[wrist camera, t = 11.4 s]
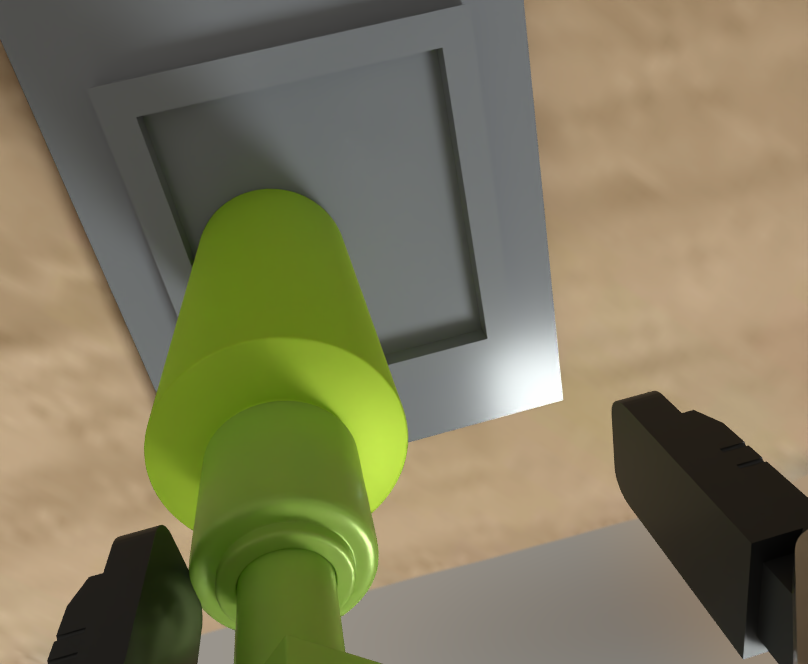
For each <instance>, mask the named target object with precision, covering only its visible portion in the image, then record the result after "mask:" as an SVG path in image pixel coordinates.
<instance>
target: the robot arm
mask: <svg viewBox="0 0 808 664" xmlns="http://www.w3.org/2000/svg"><path fill="white" fill-rule="evenodd" d="M612 429H613V446H614V464H615V473H616V478H617V481H618V484H619V487H620V490H621V492H622V494H623V496H624V498H625V500H626V502H627V503H628V505H629V506H630V507H631V509H632V510H633V511H634V513H635V514H636V515H637V517H638V518H639V519H640V521H641V522H642V523H643V525H644V526H645V528H646V529H647V530H648V532H649V533H650V534H651V535H652V537H653V538H654V539H655V541H656V542H657V544H658V545H659V546H660V548H661V549H662V550H663V552H664V553H665V555H666V556H667V557H668V559H669V560H670V561H671V562H672V564H673V565H674V567H675V568H676V569H677V571H678V572H679V573H680V575H681V576H682V577H683V579H684V580H685V582H686V583H687V584H688V586H689V587H690V588H691V590H692V591H693V592H694V594H695V595H696V596H697V598H698V599H699V600H700V602H701V603H702V604H703V606H704V607H705V608H706V610H707V611H708V613H709V614H710V615H711V617H712V618H713V619H714V621H715V622H716V623H717V625H718V626H719V627H720V629H721V630H722V631H723V633H724V634H725V635H726V637H727V638H728V639H729V641H730V642H731V644H732V645H733V646H734V648H735V649H736V650H737V652H738V653H739V654H740V656H741V657H742V658H743V659H746V658H749V657H752V656H756V655H759V654H762V653H765V652H768V651H769V652H770V654H771V655H772V656H773V657H774V659H775V660H776V661H777V662H778V664H808V497H806V496H805V495H804V494H803V493H802V492H801V491H800V490H798V489H797V488H796V487H795V486H794V485H793V484H792V483H791V482H789V481H788V480H787V479H786V478H785V477H784V476H783V475H781V474H780V473H779V472H778V471H777V470H776V469H775V468H774V467H772V466H771V465H770V464H769V463H768V462H764V461H763V459H762V457H761V456H760V455H759V454H758V453H757V452H755V451H754V450H753V449H752V448H751V447H750V446H746V445H745V442H744V441H743V440H742V439H741V438H740V437H738V436H737V435H736V434H735V433H734V432H733V431H732V430H730V429H729V428H728V427H727V426H726V425H725V424H724V423H722V422H720V421H717V420H715V419H713V418H711V417H708V416H706V415H704V414H702V413H699V412H697V411H695V410H692V411H688V412H685V413H681V412H680V411H679V410H678V409H677V408H676V407H675V406H674V405H673V404H672V403H671V402H669V401H668V400H667V399H666V398H665V397H664V396H663V395H662V394H661V393H659V392H658V391H651V392H648V393H644V394H640V395H637V396H633V397H629V398H626V399H622V400H619V401H615V402H614V403H613V405H612ZM201 630H202V606H201V602H200V600H199V598H198V596H197V594H196V592H195V590H194V588H193V586H192V583H191V580H190V577H189V570H188V568H187V566H186V564H185V562H184V560H183V558H182V556H181V554H180V552H179V549H178V547H177V545H176V543H175V541H174V539H173V537H172V535H171V533H170V531H169V530H168V529H167V528H166V527H165V526H164V525H159V526H156V527H152V528H148V529H145V530H141V531H138V532H134V533H130V534H127V535H123V536H119V537H117V538H116V539H115V540H114V542H113V544H112V547H111V551H110V554H109V557H108V560H107V563H106V566H105V569H104V573H102V574H98V575H95V576H91V577H89V578H88V579H87V580H86V582H85V583H84V584H83V586H82V587H81V588H80V590H79V591H78V592H77V594H76V595H75V596H74V598H73V599H72V600H71V602H70V603H69V604H68V606H67V608H66V610H65V613H64V616H63V619H62V622H61V624H60V627H59V630H58V633H57V635H56V636H57V641H55V642H54V644H53V646H52V649H51V652H50V655H49V657H48V660H47V661H48V664H197V662H198V654H199V646H200V638H201Z"/></svg>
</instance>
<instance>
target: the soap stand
mask: <svg viewBox="0 0 808 664" xmlns="http://www.w3.org/2000/svg"><path fill="white" fill-rule="evenodd" d="M0 40H1V42H2V44H3V46H4V49H5V51H6V53H7V55H8V58H9V60H10V62H11V65H12V67H13V69H14V71H15V74H16V76H17V78H18V80H19V83H20V85H21V87H22V89H23V92H24V94H25V96H26V98H27V101H28V103H29V105H30V108H31V110H32V112H33V114H34V117H35V119H36V121H37V123H38V126H39V128H40V130H41V132H42V135H43V137H44V139H45V141H46V144H47V146H48V148H49V151H50V153H51V155H52V157H53V160H54V162H55V164H56V166H57V169H58V171H59V173H60V175H61V178H62V180H63V182H64V184H65V187H66V189H67V191H68V194H69V196H70V198H71V200H72V203H73V205H74V207H75V209H76V212H77V214H78V216H79V218H80V221H81V223H82V225H83V227H84V230H85V232H86V234H87V237H88V239H89V241H90V243H91V246H92V248H93V250H94V252H95V255H96V257H97V259H98V261H99V264H100V266H101V268H102V270H103V273H104V275H105V277H106V280H107V282H108V284H109V286H110V289H111V291H112V293H113V295H114V298H115V300H116V302H117V304H118V307H119V309H120V311H121V313H122V316H123V318H124V320H125V323H126V325H127V327H128V329H129V332H130V334H131V336H132V338H133V341H134V343H135V345H136V347H137V350H138V352H139V354H140V356H141V359H142V361H143V363H144V366H145V368H146V370H147V372H148V375H149V377H150V379H151V381H152V384H153V386H154V388H155V390H156V393H157V390H158V386H159V383H160V379H161V376H162V372H163V369H164V365H165V362H166V358H167V355H168V351H169V348H170V344H171V341H172V337H173V334H174V330H175V326H176V323H177V319H178V316H179V312H180V309H181V305H182V302H183V298H184V295H185V291H186V288H187V284H188V281H189V277H190V274H191V270H192V267H193V263H194V260H195V256H196V253H197V249H198V246H199V242H200V239H201V235H202V233H203V230H204V228H205V226H206V225H207V223H208V221H209V220H210V218H211V217H212V216H213V214H214V213H215V212H216V211H217V210H218V209H219V208H220V207H221V206H223V205H224V204H225V203H227V202H228V201H230V200H231V199H233V198H235V197H237V196H239V195H241V194H244V193H247V192H250V191H254V190H260V189H281V190H287V191H291V192H295V193H298V194H300V195H303V196H305V197H307V198H309V199H310V200H312V201H314V202H315V203H317V204H318V205H319V206H320V207H322V208H323V209H324V210H325V211H326V212H327V213H328V214H329V215H330V217H331V218H332V219H333V220H334V222H335V223H336V225H337V227H338V229H339V231H340V233H341V235H342V238H343V241H344V243H345V246H346V249H347V252H348V255H349V257H350V260H351V263H352V266H353V269H354V271H355V274H356V277H357V280H358V283H359V285H360V288H361V291H362V294H363V297H364V299H365V302H366V305H367V308H368V311H369V314H370V316H371V319H372V322H373V325H374V328H375V330H376V333H377V336H378V339H379V342H380V344H381V347H382V350H383V353H384V356H385V358H386V361H387V364H388V367H389V370H390V372H391V375H392V378H393V381H394V384H395V387H396V389H397V392H398V395H399V398H400V401H401V403H402V406H403V409H404V412H405V416H406V420H407V427H408V442H411V441H415V440H419V439H422V438H426V437H430V436H433V435H437V434H441V433H444V432H448V431H452V430H455V429H459V428H463V427H466V426H470V425H473V424H477V423H481V422H484V421H488V420H492V419H495V418H499V417H503V416H506V415H510V414H514V413H517V412H521V411H525V410H528V409H532V408H536V407H539V406H543V405H547V404H550V403H554V402H558V401H561V400H563V395H562V385H561V375H560V365H559V354H558V344H557V334H556V324H555V314H554V304H553V294H552V284H551V274H550V263H549V253H548V243H547V233H546V223H545V213H544V203H543V193H542V182H541V172H540V162H539V152H538V142H537V132H536V122H535V112H534V101H533V91H532V81H531V71H530V61H529V51H528V41H527V31H526V21H525V10H524V0H0Z"/></svg>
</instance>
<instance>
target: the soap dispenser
mask: <svg viewBox="0 0 808 664" xmlns="http://www.w3.org/2000/svg"><path fill="white" fill-rule="evenodd" d="M407 448H408V427H407V420H406V416H405V412H404V409H403V406H402V403H401V401H400V398H399V395H398V392H397V389H396V387H395V384H394V381H393V378H392V375H391V372H390V370H389V367H388V364H387V361H386V358H385V356H384V353H383V350H382V347H381V344H380V342H379V339H378V336H377V333H376V330H375V328H374V325H373V322H372V319H371V316H370V314H369V311H368V308H367V305H366V302H365V299H364V297H363V294H362V291H361V288H360V285H359V283H358V280H357V277H356V274H355V271H354V269H353V266H352V263H351V260H350V257H349V255H348V252H347V249H346V246H345V243H344V241H343V238H342V235H341V233H340V231H339V229H338V227H337V225H336V223H335V222H334V220H333V219H332V218H331V217H330V215H329V214H328V213H327V212H326V211H325V210H324V209H323V208H322V207H320V206H319V205H318V204H317V203H315V202H314V201H312V200H310V199H309V198H307V197H305V196H303V195H300V194H298V193H295V192H291V191H287V190H281V189H260V190H254V191H250V192H247V193H244V194H241V195H239V196H237V197H235V198H233V199H231V200H230V201H228V202H227V203H225V204H224V205H223V206H221V207H220V208H219V209H218V210H217V211H216V212H215V213H214V214H213V216H212V217H211V218H210V220H209V221H208V223H207V225H206V226H205V228H204V230H203V233H202V235H201V239H200V242H199V246H198V249H197V253H196V256H195V260H194V263H193V267H192V270H191V274H190V277H189V281H188V284H187V288H186V291H185V295H184V298H183V302H182V305H181V309H180V312H179V316H178V319H177V323H176V326H175V330H174V334H173V337H172V341H171V344H170V348H169V351H168V355H167V358H166V362H165V365H164V369H163V372H162V376H161V379H160V383H159V386H158V390H157V393H156V397H155V400H154V404H153V407H152V411H151V414H150V418H149V422H148V425H147V429H146V435H145V443H144V456H145V464H146V469H147V473H148V476H149V479H150V482H151V484H152V486H153V489H154V490H155V492H156V494H157V496H158V497H159V499H160V500H161V502H162V503H163V504H164V506H165V507H166V508H167V509H168V510H169V511H170V512H171V513H172V515H173V516H175V517H176V518H177V519H178V520H179V521H180V522H182V523H183V524H184V525H186V526H187V527H188V528H190V529H191V530H193V537H192V544H191V551H190V560H189V577H190V580H191V583H192V586H193V588H194V590H195V592H196V594H197V596H198V598H199V600H200V602H201V606H202V608H203V610H204V611H205V612H206V613H207V614H208V615H210V616H211V617H212V618H213V619H215V620H216V621H218V622H219V623H221V624H223V625H224V626H226V627H228V628H231V629H233V630H235V652H234V664H381V663H378V662H375V661H372V660H368V659H365V658H362V657H359V656H356V655H352V654H349V653H346V652H345V646H344V639H343V632H342V623H341V616H343V615H344V614H346V613H347V612H348V611H350V610H351V609H352V608H353V607H354V606H355V605H356V604H357V603H358V602H359V601H360V600H361V599H362V598H363V596H364V595H365V594H366V592H367V591H368V589H369V588H370V586H371V584H372V582H373V580H374V578H375V575H376V571H377V567H378V544H377V538H376V533H375V528H374V524H373V519H372V514H371V513H372V512H373V511H375V510H376V509H377V508H378V507H379V505H380V504H381V503H382V502H383V501H384V500H385V499H386V497H387V496H388V495H389V493H390V492H391V490H392V489H393V487H394V486H395V484H396V482H397V480H398V478H399V476H400V474H401V471H402V469H403V466H404V463H405V459H406V454H407Z"/></svg>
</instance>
